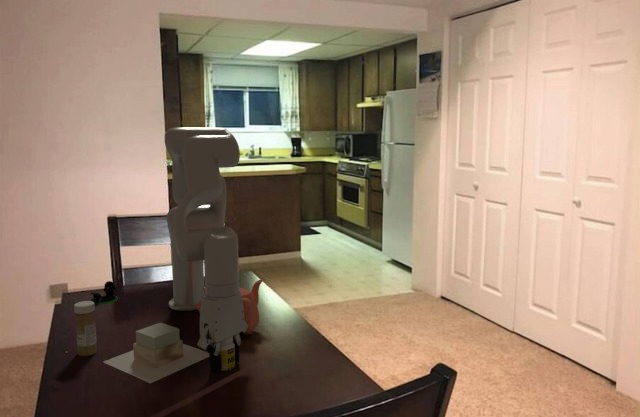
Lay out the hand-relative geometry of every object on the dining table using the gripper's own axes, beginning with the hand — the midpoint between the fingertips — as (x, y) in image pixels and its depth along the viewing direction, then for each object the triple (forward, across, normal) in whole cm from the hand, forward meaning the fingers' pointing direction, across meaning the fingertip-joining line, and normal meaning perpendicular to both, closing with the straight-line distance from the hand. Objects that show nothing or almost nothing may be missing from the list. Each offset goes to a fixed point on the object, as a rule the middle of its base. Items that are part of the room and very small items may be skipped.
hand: (224, 364), depth 120 cm
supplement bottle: (+2, 0, 0) cm, 2 cm away
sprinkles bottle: (+2, +14, -33) cm, 36 cm away
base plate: (+1, +6, -16) cm, 17 cm away
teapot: (+2, -18, -16) cm, 24 cm away
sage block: (-4, +6, -16) cm, 17 cm away
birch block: (0, +6, -16) cm, 17 cm away
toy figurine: (+2, -13, -70) cm, 71 cm away
